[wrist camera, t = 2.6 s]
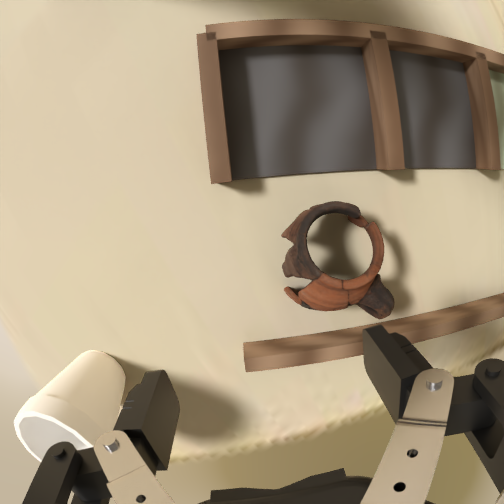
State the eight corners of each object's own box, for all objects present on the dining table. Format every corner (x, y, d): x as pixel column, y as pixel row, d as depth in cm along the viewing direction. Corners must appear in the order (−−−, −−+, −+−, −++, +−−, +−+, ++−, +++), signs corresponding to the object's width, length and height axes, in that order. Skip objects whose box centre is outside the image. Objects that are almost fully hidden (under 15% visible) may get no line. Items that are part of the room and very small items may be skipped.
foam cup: (133, 412, 34) (105, 492, 22) (66, 387, 33) (23, 456, 21) (143, 353, 32) (105, 438, 20) (67, 326, 31) (7, 393, 19)
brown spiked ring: (252, 281, 31) (262, 260, 23) (302, 208, 34) (324, 168, 26) (353, 348, 30) (393, 347, 22) (393, 271, 33) (436, 249, 25)
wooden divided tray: (237, 356, 33) (237, 379, 29) (199, 39, 25) (194, 21, 21) (512, 300, 33) (530, 311, 29) (509, 66, 25) (529, 61, 21)
